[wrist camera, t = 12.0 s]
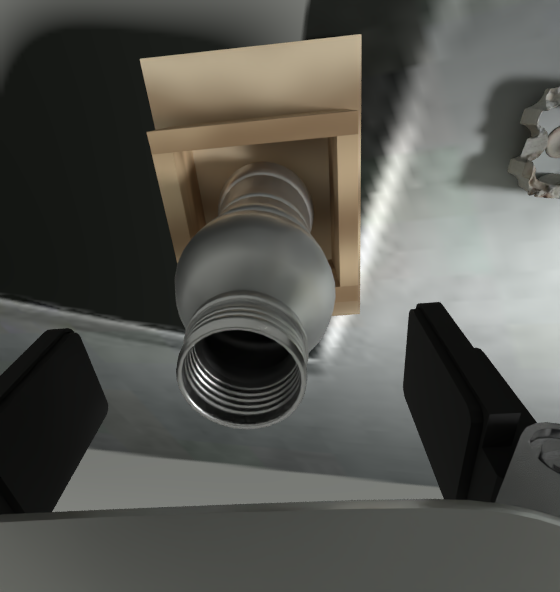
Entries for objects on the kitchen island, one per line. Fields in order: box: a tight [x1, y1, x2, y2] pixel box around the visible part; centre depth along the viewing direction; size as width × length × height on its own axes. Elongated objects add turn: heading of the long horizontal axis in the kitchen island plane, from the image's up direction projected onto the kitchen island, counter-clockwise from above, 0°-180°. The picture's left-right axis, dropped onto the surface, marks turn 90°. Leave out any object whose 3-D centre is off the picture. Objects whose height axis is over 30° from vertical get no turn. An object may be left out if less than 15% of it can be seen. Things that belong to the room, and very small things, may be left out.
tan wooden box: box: [140, 34, 361, 316], centre depth 27 cm, size 20×14×6 cm
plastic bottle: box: [175, 162, 336, 429], centre depth 19 cm, size 6×7×20 cm
